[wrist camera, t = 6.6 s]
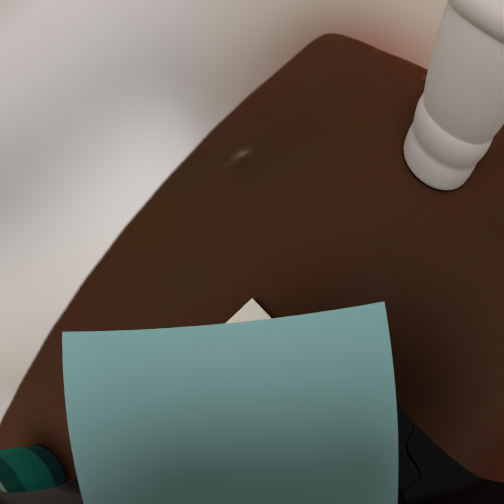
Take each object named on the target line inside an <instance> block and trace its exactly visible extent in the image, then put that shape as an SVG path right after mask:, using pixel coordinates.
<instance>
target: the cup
mask: <svg viewBox="0 0 504 504" xmlns="http://www.w3.org/2000/svg"><path fill="white" fill-rule="evenodd" d="M63 485H65V474H64V471H63V468H62V466H61V464H60V462H59V461H58V459H57V458H56V457H55V455H54V454H53V453H52V452H50V451H49V450H48V449H46V448H43V447H41V446H37V445H35V446H29V447H18V448H12V449H2V450H0V490H2V491H4V492H9V493H18V492H29V491H37V490H45V489H52V488H57V487H60V486H63Z"/></svg>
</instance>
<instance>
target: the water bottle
mask: <svg viewBox="0 0 504 504" xmlns="http://www.w3.org/2000/svg"><path fill="white" fill-rule="evenodd" d="M503 124H504V0H448V1H447V4H446V7H445V10H444V13H443V16H442V19H441V23H440V26H439V29H438V33H437V37H436V41H435V45H434V49H433V52H432V56H431V61H430V65H429V69H428V73H427V78H426V83H425V88H424V93H423V94H422V96H421V98H420V100H419V102H418V105H417V107H416V111H415V115H414V122H413V123H412V125H411V127H410V129H409V131H408V134H407V136H406V139H405V143H404V156H405V160H406V162H407V164H408V166H409V168H410V169H411V171H412V172H413V173H414V174H415V176H416V177H417V178H419V179H420V180H421V181H422V182H424V183H425V184H427V185H429V186H431V187H433V188H436V189H439V190H453V189H456V188H458V187H460V186H461V185H463V184H464V183H465V181H466V180H467V179H468V177H469V176H470V175H471V173H472V171H473V170H474V168H475V166H476V163H477V162H478V161H479V160H480V159H481V158H482V157H483V156H484V154H485V153H486V152H487V150H488V148H489V146H490V144H491V142H492V139H493V137H494V136H495V134H496V133H497V132H498V131H499V130H500V128H501V127H502V126H503Z"/></svg>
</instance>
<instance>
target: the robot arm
mask: <svg viewBox="0 0 504 504" xmlns="http://www.w3.org/2000/svg"><path fill="white" fill-rule="evenodd" d="M396 404H397V403H396ZM397 421H398V502H397V504H504V483H501V482H496V481H492V480H487V479H483V478H480V477H478V476H476V475H474V474H472V473H471V472H469V471H468V470H467V469H465V468H464V467H463V466H461V465H460V464H459V463H458V462H457V461H455V460H454V459H453V458H452V457H450V456H449V455H448V454H447V453H445V452H444V451H443V450H442V449H441V448H440V447H438V446H437V445H436V444H435V443H434V442H433V441H432V440H431V439H430V438H429V437H428V436H427V435H426V434H425V433H424V432H423V431H422V430H421V429H420V428H419V427H418V426H417V425H415V423H414V421H413V420H412V419H411V418H410V417H409V416H408V415H407V414H406V413H405V412H404V411H403V410H402V408H401V407H400V406H399V405H398V404H397ZM0 504H84V503H83V499H82V496H81V492H80V487H79V483H78V479H77V476H76V477H75V478H73V479H72V480H71V481H69V482H68V483H67V484H65V485H63V486H60V487H57V488H52V489H45V490H37V491H29V492H18V493H9V492H4V491H2V490H0Z"/></svg>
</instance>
